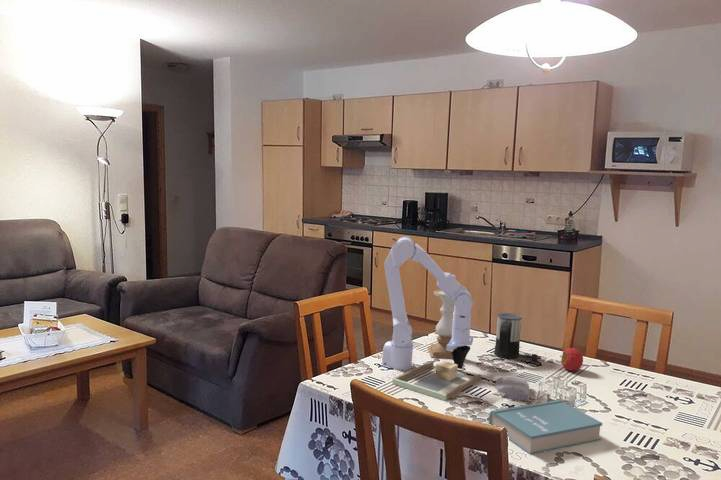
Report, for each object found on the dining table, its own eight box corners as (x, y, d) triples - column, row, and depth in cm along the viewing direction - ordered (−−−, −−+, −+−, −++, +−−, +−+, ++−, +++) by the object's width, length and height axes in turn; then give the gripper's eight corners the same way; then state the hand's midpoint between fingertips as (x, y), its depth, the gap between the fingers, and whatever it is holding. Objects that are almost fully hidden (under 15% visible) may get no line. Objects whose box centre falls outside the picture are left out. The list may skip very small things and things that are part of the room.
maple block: (435, 376, 178) (436, 364, 178) (443, 372, 182) (444, 360, 182) (449, 380, 175) (450, 368, 175) (457, 376, 179) (457, 364, 179)
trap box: (392, 388, 171) (392, 378, 171) (430, 369, 189) (431, 360, 189) (444, 405, 160) (445, 395, 160) (480, 383, 178) (481, 374, 178)
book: (529, 456, 134) (531, 436, 133) (488, 427, 149) (489, 409, 148) (600, 441, 143) (602, 423, 142) (555, 415, 158) (556, 398, 157)
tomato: (585, 346, 194) (563, 340, 194) (588, 365, 188) (565, 360, 188) (575, 358, 199) (554, 353, 199) (577, 377, 194) (555, 372, 194)
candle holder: (462, 363, 196) (466, 296, 193) (430, 362, 196) (434, 294, 193) (457, 353, 207) (461, 289, 204) (427, 352, 207) (431, 288, 204)
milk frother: (492, 349, 213) (495, 311, 211) (535, 353, 211) (539, 314, 209) (496, 362, 199) (499, 321, 197) (542, 366, 197) (545, 325, 195)
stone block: (497, 404, 167) (532, 401, 165) (495, 388, 167) (530, 385, 165) (495, 390, 179) (528, 388, 177) (493, 376, 179) (526, 373, 177)
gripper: (461, 334, 175) (458, 376, 177) (482, 325, 186) (479, 365, 188) (441, 329, 179) (439, 370, 181) (463, 321, 191) (460, 360, 192)
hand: (458, 367), depth 185 cm, fingers closed
